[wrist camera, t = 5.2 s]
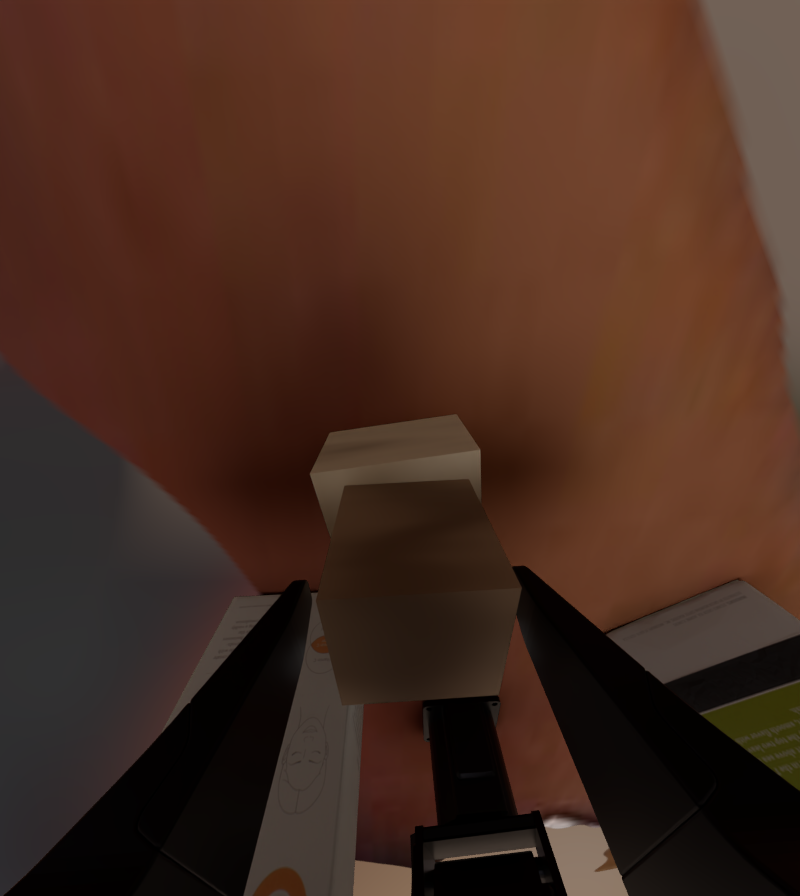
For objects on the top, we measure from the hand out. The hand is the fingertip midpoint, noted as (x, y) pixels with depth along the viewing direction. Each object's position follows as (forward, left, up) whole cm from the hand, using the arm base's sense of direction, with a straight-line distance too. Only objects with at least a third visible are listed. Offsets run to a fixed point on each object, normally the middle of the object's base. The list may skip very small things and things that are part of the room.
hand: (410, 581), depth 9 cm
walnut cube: (0, 0, -2) cm, 2 cm away
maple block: (0, 0, -6) cm, 6 cm away
